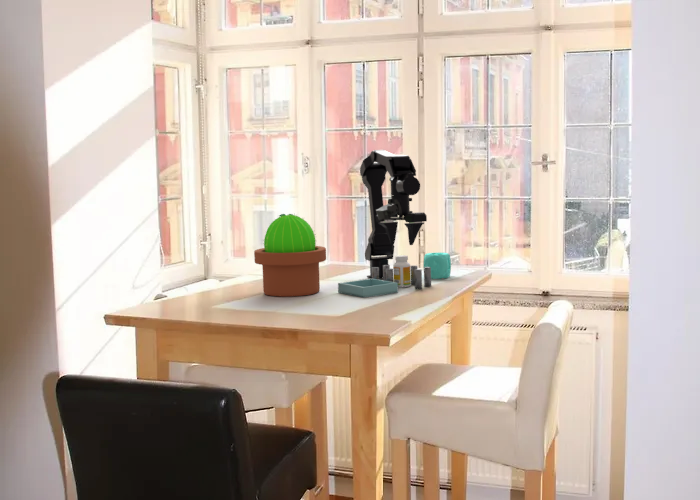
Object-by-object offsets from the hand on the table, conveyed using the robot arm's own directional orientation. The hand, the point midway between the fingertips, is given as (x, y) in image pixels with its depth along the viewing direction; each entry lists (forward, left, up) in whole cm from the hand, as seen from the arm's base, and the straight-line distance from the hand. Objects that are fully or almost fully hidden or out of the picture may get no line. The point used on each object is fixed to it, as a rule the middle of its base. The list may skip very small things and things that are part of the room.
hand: (401, 244), depth 281 cm
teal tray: (+2, -16, -13) cm, 21 cm away
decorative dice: (-7, +21, -14) cm, 26 cm away
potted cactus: (-15, -32, -14) cm, 38 cm away
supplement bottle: (0, 0, -14) cm, 14 cm away
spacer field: (0, 0, -13) cm, 13 cm away
